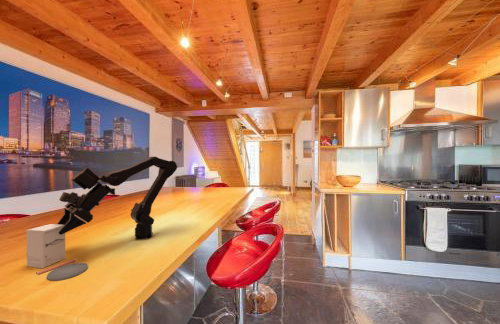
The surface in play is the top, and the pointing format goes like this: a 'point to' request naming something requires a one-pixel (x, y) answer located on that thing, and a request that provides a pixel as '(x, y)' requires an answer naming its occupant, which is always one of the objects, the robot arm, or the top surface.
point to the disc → (67, 271)
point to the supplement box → (45, 245)
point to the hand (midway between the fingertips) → (57, 231)
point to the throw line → (55, 267)
